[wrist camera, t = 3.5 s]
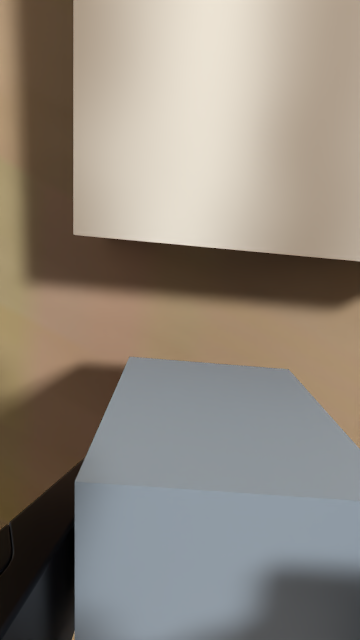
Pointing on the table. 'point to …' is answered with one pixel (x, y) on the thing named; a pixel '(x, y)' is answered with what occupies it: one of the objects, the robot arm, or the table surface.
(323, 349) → the table surface
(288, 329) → the table surface
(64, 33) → the table surface
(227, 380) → the grey cube
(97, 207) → the cream block
